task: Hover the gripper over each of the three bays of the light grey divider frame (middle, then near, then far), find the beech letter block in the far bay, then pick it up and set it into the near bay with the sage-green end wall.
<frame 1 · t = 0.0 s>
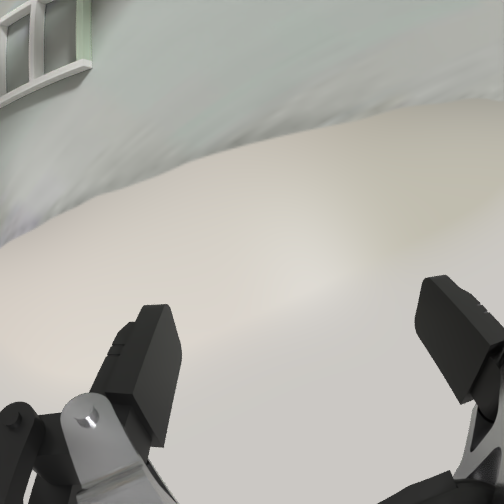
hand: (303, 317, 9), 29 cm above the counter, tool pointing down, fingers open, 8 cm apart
divider frame: (21, 51, 27), on the counter
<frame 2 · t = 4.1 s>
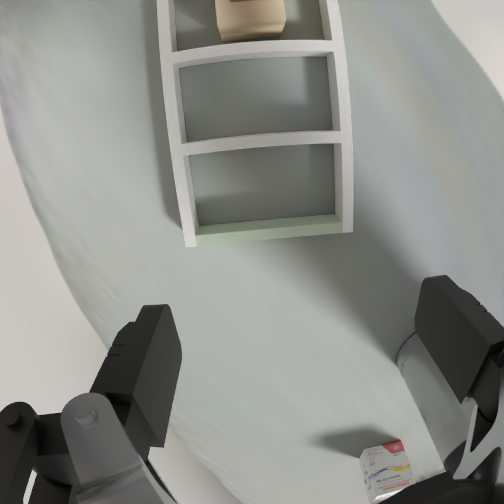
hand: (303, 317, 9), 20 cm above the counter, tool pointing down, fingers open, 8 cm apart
beech letter block: (248, 15, 21), resting in divider frame
divider frame: (256, 95, 24), on the counter
ink cartridge box: (379, 448, 49), on the counter
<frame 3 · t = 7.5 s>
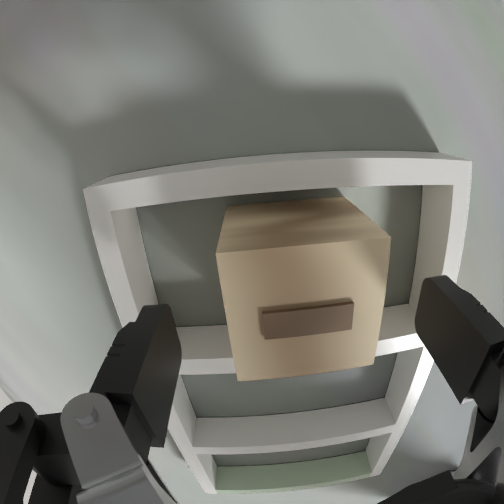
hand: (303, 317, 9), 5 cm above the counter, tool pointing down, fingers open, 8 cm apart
beech letter block: (289, 254, 14), resting in divider frame
divider frame: (292, 379, 17), on the counter
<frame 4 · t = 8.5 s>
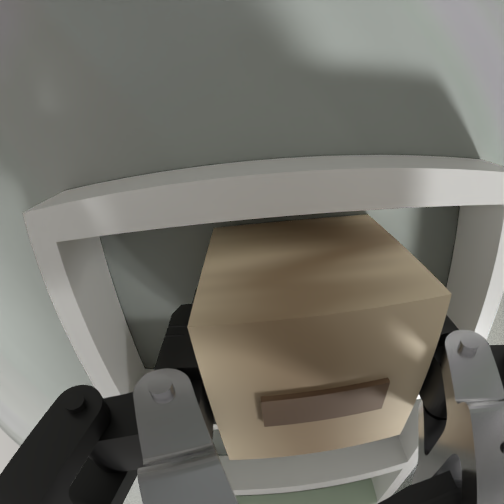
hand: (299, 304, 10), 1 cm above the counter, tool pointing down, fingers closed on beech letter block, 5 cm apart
beech letter block: (296, 288, 11), resting in divider frame, touching gripper
divider frame: (295, 420, 14), on the counter
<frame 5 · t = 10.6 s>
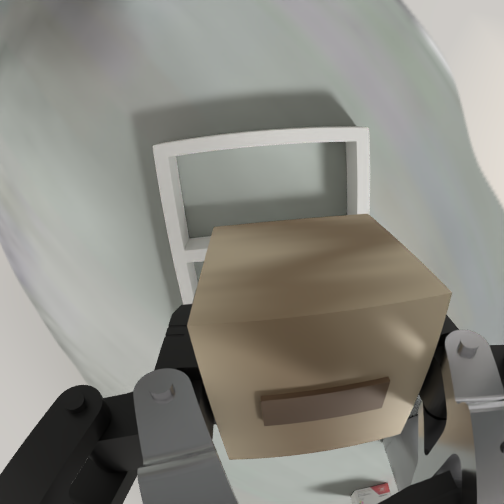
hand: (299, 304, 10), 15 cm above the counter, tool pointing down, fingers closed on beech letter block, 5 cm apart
beech letter block: (296, 288, 11), point 14 cm above the counter, touching gripper
divider frame: (272, 279, 27), on the counter
ink cartridge box: (368, 489, 52), on the counter
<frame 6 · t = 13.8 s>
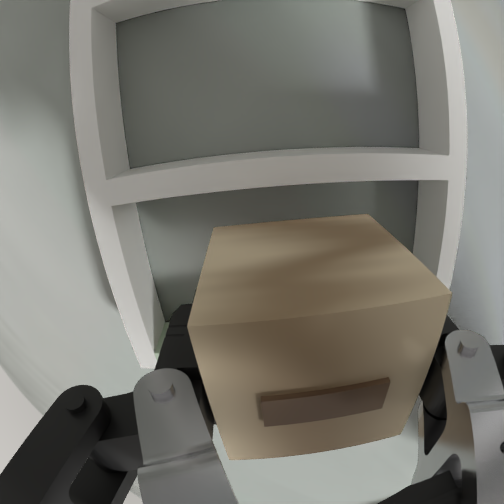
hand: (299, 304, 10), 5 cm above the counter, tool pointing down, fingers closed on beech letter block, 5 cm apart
beech letter block: (296, 288, 11), point 4 cm above the counter, touching gripper
divider frame: (273, 68, 11), on the counter
when the fingers open (2 cm above the counter, at t = 14.8 s): beech letter block drops 2 cm, resting in divider frame.
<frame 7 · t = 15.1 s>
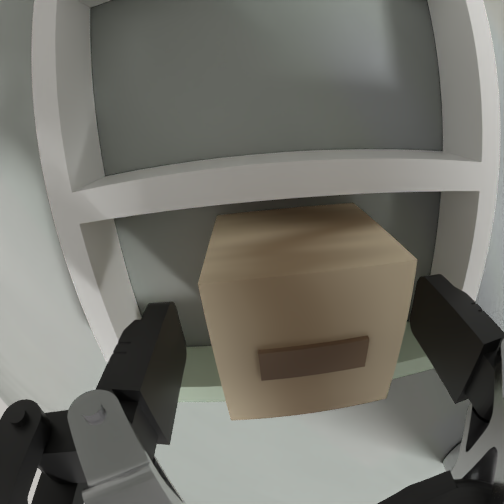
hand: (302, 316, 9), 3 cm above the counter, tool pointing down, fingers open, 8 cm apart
beech letter block: (290, 269, 12), resting in divider frame
divider frame: (274, 54, 9), on the counter
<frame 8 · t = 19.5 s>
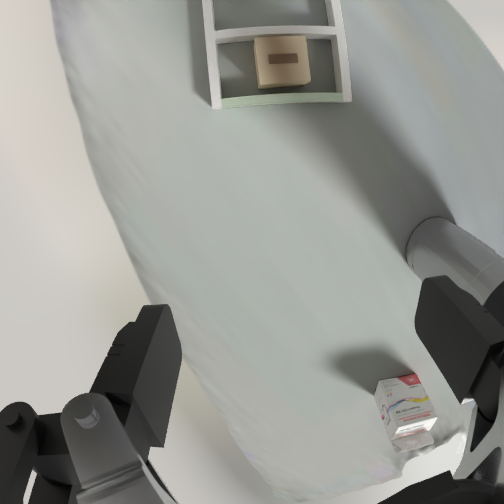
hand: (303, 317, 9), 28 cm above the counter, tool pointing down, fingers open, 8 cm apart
beech letter block: (277, 67, 30), resting in divider frame
divider frame: (270, 6, 27), on the counter
ink cartridge box: (394, 383, 51), on the counter
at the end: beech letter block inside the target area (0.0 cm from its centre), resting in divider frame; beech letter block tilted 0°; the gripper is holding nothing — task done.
